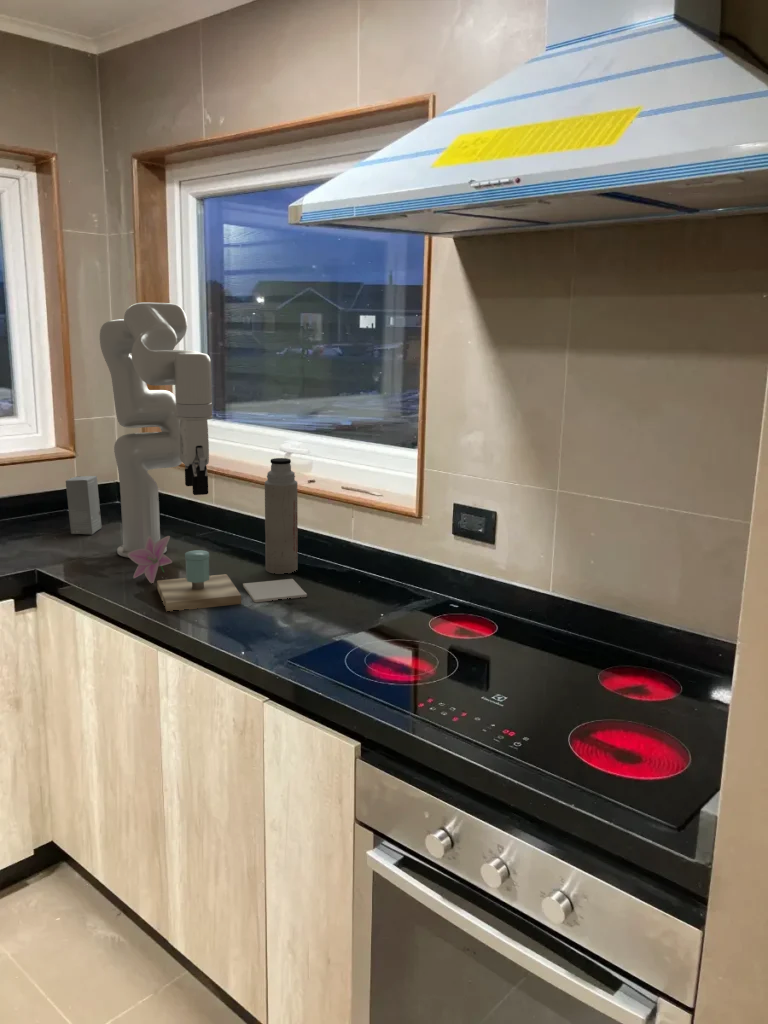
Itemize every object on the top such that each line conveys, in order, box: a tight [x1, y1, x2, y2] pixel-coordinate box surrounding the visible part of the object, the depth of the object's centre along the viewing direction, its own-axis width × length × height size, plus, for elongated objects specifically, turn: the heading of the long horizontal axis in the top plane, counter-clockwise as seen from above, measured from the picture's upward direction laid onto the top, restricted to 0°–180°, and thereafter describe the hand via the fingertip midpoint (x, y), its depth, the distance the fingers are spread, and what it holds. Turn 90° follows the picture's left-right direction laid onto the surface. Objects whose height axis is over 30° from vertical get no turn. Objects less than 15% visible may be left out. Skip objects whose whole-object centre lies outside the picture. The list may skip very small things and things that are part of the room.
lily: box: [127, 535, 173, 584], centre depth 198 cm, size 12×12×10 cm
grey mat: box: [242, 578, 308, 603], centre depth 189 cm, size 12×12×1 cm
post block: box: [156, 573, 242, 612], centre depth 184 cm, size 16×16×9 cm
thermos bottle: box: [264, 457, 299, 575], centre depth 203 cm, size 8×8×28 cm
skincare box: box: [65, 475, 102, 535], centre depth 236 cm, size 8×7×16 cm
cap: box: [184, 549, 210, 583], centre depth 184 cm, size 5×5×6 cm
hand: (196, 490), depth 180 cm, fingers open, 9 cm apart
